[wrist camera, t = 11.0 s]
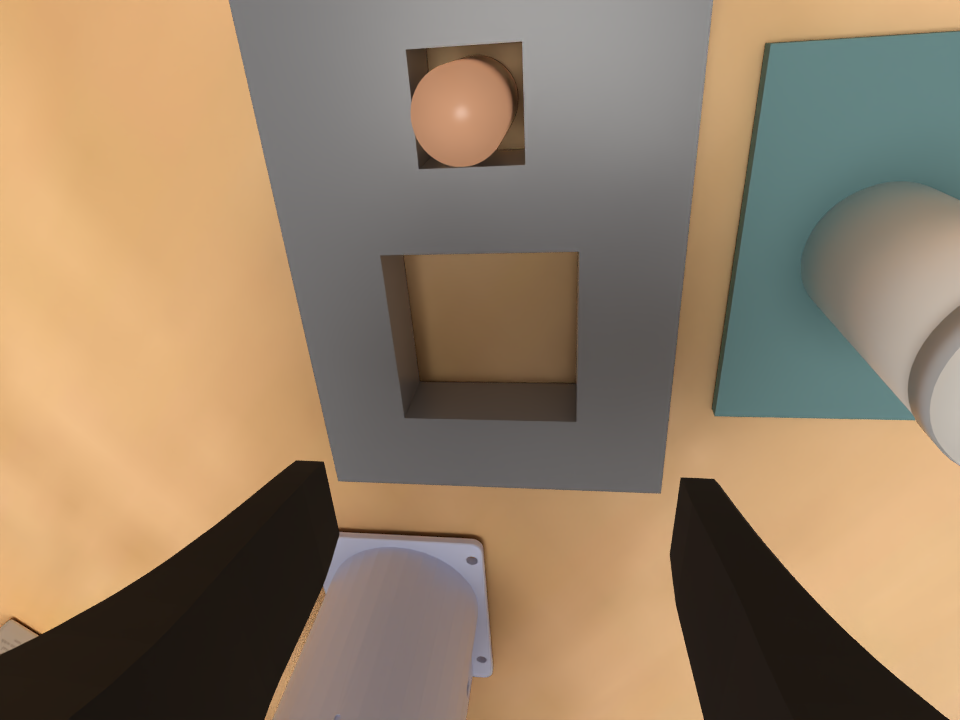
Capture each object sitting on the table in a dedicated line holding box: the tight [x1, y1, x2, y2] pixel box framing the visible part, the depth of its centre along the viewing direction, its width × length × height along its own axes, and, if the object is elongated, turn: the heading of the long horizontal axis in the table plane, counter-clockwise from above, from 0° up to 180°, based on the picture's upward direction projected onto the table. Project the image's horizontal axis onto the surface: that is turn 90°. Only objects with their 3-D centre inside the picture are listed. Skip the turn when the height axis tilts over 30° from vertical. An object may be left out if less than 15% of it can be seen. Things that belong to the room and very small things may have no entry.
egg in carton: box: [410, 55, 518, 167], centre depth 16 cm, size 2×2×4 cm
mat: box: [712, 31, 960, 420], centre depth 19 cm, size 12×8×1 cm, turn 4°
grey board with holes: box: [229, 0, 713, 493], centre depth 19 cm, size 16×12×2 cm
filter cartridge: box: [801, 181, 960, 466], centre depth 15 cm, size 4×4×8 cm
